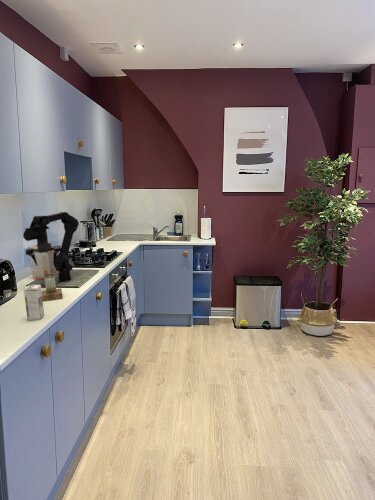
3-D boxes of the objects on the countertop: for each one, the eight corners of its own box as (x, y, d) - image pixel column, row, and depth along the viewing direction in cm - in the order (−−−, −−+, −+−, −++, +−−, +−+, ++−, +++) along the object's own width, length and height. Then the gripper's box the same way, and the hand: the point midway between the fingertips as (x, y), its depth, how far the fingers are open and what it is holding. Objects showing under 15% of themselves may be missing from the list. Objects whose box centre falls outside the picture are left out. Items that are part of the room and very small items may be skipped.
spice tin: (53, 289, 201) (51, 273, 200) (58, 291, 198) (56, 274, 196) (44, 292, 198) (42, 275, 196) (49, 294, 194) (46, 277, 192)
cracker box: (57, 277, 239) (53, 245, 235) (50, 280, 233) (46, 247, 230) (39, 277, 244) (34, 245, 240) (32, 279, 238) (28, 246, 234)
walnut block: (61, 293, 204) (61, 288, 204) (62, 298, 195) (61, 293, 195) (42, 296, 201) (41, 290, 201) (41, 301, 192) (41, 296, 191)
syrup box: (31, 316, 172) (27, 285, 169) (44, 315, 172) (40, 284, 169) (27, 320, 166) (22, 288, 163) (41, 319, 166) (36, 287, 164)
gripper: (23, 241, 204) (27, 269, 207) (59, 238, 210) (62, 265, 213) (24, 238, 214) (28, 265, 217) (59, 235, 220) (62, 261, 223)
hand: (45, 264), depth 217 cm, fingers open, 9 cm apart
